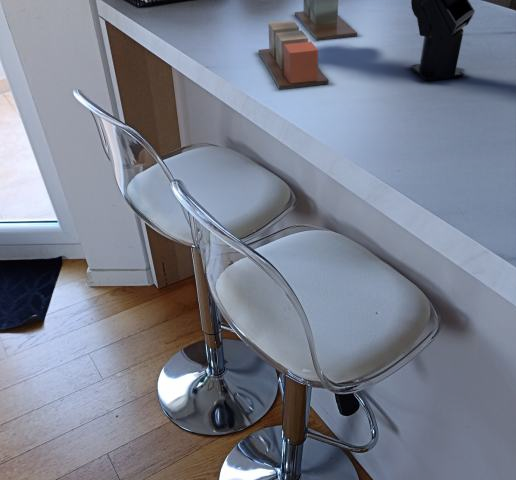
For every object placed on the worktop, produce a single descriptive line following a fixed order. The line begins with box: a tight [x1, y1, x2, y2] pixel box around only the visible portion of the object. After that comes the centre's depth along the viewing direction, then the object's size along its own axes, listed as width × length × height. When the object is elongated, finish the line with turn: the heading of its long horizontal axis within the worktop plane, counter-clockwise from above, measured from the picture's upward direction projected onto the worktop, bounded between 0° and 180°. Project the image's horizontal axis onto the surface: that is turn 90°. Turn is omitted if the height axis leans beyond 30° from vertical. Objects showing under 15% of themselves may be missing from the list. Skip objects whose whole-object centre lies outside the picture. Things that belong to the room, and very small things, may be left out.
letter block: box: [284, 41, 319, 84], centre depth 85 cm, size 4×4×4 cm
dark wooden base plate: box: [294, 0, 358, 41], centre depth 107 cm, size 19×8×5 cm, turn 10°
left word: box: [258, 19, 329, 90], centre depth 90 cm, size 19×8×5 cm, turn 10°
